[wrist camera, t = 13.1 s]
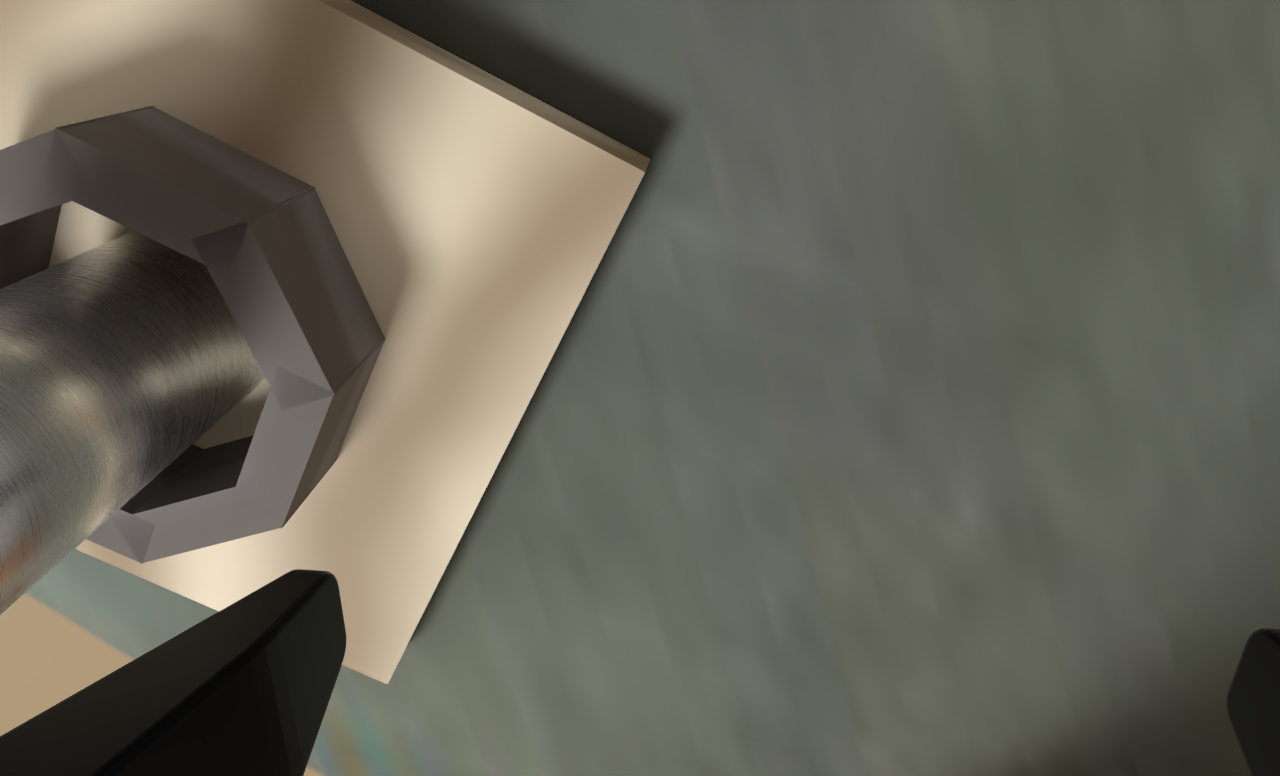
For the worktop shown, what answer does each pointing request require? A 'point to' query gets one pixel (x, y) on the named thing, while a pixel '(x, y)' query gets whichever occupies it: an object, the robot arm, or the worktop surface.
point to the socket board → (414, 229)
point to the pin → (104, 391)
